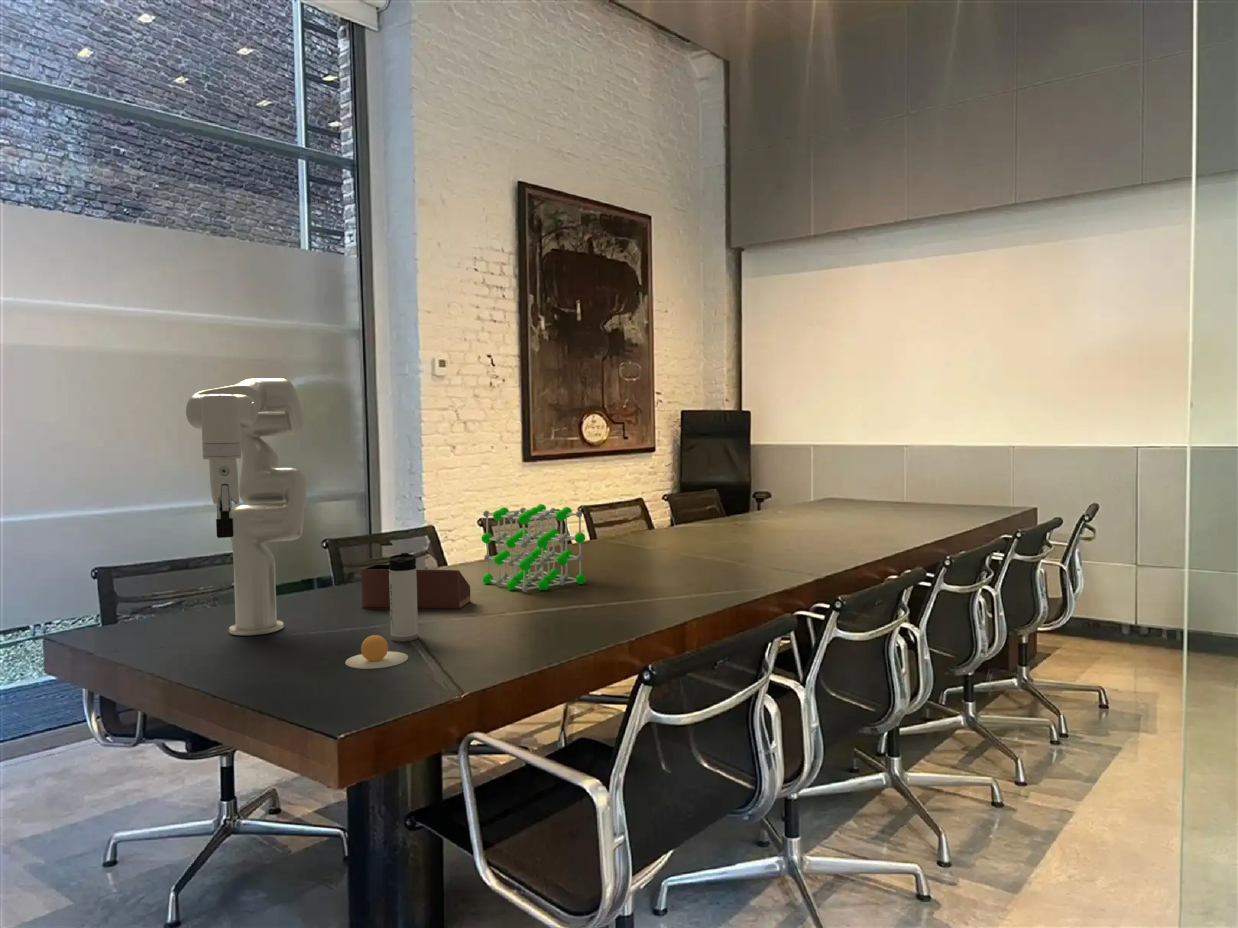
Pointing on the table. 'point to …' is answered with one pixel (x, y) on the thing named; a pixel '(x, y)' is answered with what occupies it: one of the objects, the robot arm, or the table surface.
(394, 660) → the disc
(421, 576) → the desk organizer
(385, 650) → the ball
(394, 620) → the travel mug
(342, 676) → the table surface
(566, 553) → the molecular structure model
